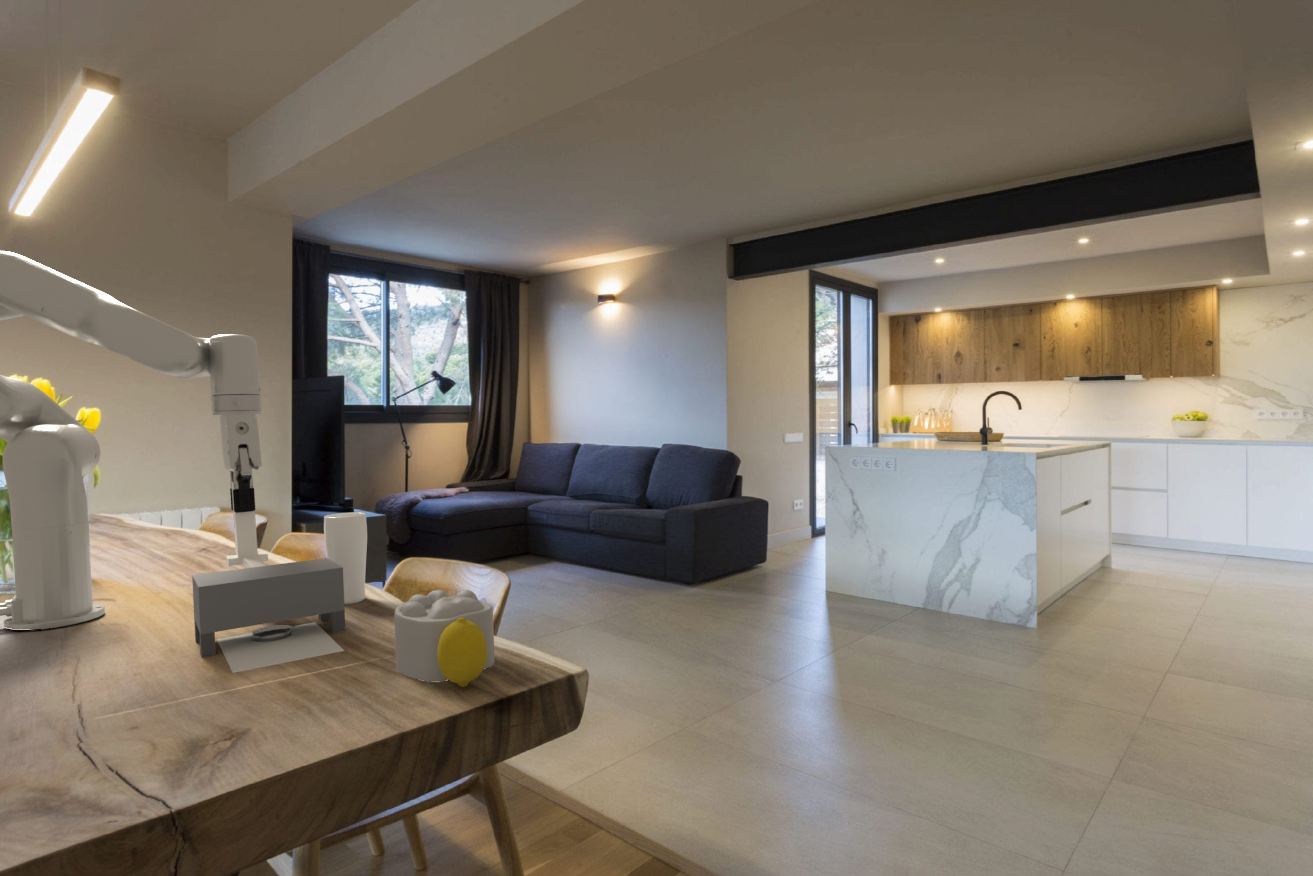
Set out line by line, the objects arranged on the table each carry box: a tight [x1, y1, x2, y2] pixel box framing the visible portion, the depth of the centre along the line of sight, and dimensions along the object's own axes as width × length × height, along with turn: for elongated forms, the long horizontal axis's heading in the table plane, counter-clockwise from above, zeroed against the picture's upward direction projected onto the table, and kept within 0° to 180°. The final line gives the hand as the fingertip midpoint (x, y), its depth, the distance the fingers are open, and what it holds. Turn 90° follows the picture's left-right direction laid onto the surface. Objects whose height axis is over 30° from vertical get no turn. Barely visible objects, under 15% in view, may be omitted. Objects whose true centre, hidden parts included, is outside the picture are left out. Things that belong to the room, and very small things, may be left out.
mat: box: [216, 622, 345, 674], centre depth 101 cm, size 13×18×1 cm
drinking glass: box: [323, 511, 368, 605], centre depth 125 cm, size 7×7×15 cm
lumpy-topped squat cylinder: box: [393, 589, 496, 681], centre depth 92 cm, size 10×13×9 cm
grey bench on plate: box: [192, 557, 346, 658], centre depth 106 cm, size 18×10×10 cm, turn 126°
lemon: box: [437, 618, 487, 688], centre depth 84 cm, size 6×6×8 cm
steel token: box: [251, 624, 292, 642], centre depth 105 cm, size 5×5×1 cm
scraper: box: [225, 481, 269, 568], centre depth 121 cm, size 6×23×14 cm, turn 36°
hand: (243, 509), depth 128 cm, fingers closed on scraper, 3 cm apart
